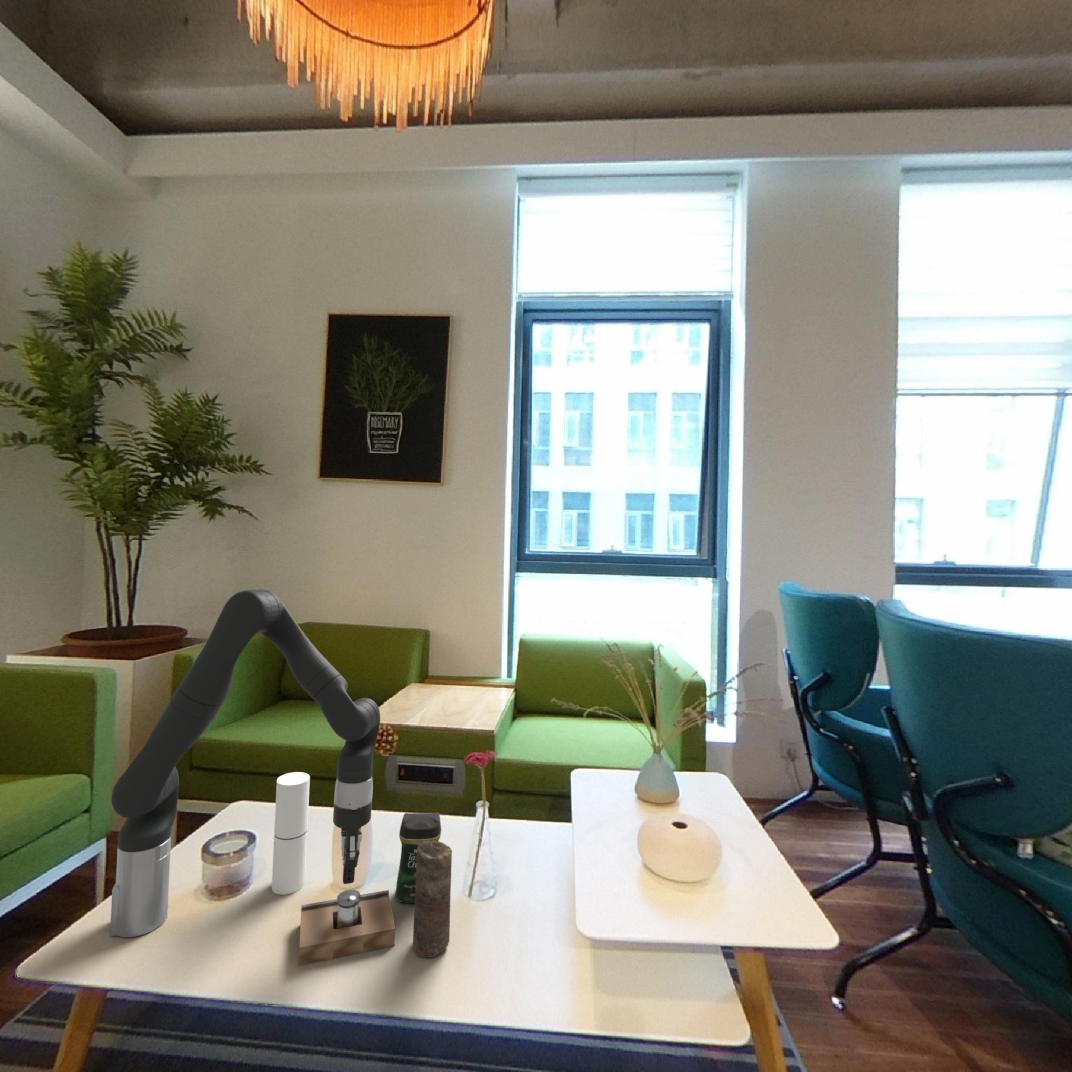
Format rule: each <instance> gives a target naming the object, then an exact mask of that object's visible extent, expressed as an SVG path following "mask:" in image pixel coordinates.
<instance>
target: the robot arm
mask: <svg viewBox="0 0 1072 1072" xmlns="http://www.w3.org/2000/svg"><path fill="white" fill-rule="evenodd" d="M257 634H261V635H262V636H264V637H265V638H267V639H268V640H270V642H271V643H273V644H274V645H275V646H276V647H277V649H278V650H279V651H280V652H281V654H282V656H283V657H284V659H285V661H286V662H287V665H288V667H289V670H290V672H291V674H292V676H293V677H294V679H295V681H297V683H298V684H299V686H300V687H301V688H302V689H303V690H304V691H305V692H306V693H307V694H308V695H309V696H310V697H311V699H313V701H314V702H316V703H317V704H318V706H319V708H320V710H321V711H322V714H323V716H324V717H325V719H326V721H327V722H328V725H329V726H330V728H331V729H332V730H333V732H334V733H335V734H336V735H337V737H339V738H341V739H342V740H345V743H344V745H343V747H342V749H341V750H340V752H339V755H338V758H337V768H336V769H337V770H336V781H335V785H334V796H333V797H334V798H333V815H332V822H333V824H334V826H336V827H337V828H338V829H340V838H341V839H340V840H341V841H340V842H341V843H340V844H341V846H340V848H341V849H340V850H341V857H342V866H343V869H342V884H343V885H349V884H353V883H354V882H355V877H356V876H355V874H356V873H355V872H356V868H357V867H358V863H359V856H360V848H361V842H362V837H363V835H362V834H363V833H362V827H364V826H367V824H369V822H370V821H371V818H372V807H373V805H372V804H373V792H374V791H373V790H374V785H373V784H374V783H373V767H374V766H373V765H374V752H375V748H376V746H377V745H376V744H377V740H378V735H379V731H380V726H381V711H380V707H379V706H378V704H377V703H376V702H375V700H373V699H371V698H369V697H362V698H358V699H356V700H354V701H353V700H352V698H351V697H350V696H349V694H348V692H347V691H348V687H349V685H348V684H349V683H348V681H347V680H346V679H345V677H344V676H343V675H342V674H341V673H340V672H339V671H338V670H337V669H336V668H335V666H333V665H332V664H331V662H329V661H328V660H327V659H326V657H325V656H324V655H323V654H322V653H321V652H320V651H319V650H318V649H317V648H316V646H315V645H314V644H313V643H312V642H311V641H310V639H309V638H308V636H307V635H306V634H305V633H304V631H303V630H302V629H301V627H300V626H299V624H298V623H297V622H296V621H295V619H294V618H293V616H292V614H291V612H290V611H289V609H288V608H287V607H286V605H285V604H284V602H283V601H282V599H281V598H280V597H279V596H278V594H277V593H274V592H273V591H270V590H267V589H248V590H241V591H238V592H236V593H235V594H233V595H232V596H230V598H229V599H228V600H226V603H225V604H224V606H223V608H222V610H221V612H220V614H219V616H218V617H217V620H216V622H215V624H214V627H213V629H212V630H211V632H210V635H209V637H208V639H207V641H206V643H205V644H204V646H203V648H202V649H201V651H200V652H199V654H198V656H197V657H196V658H195V660H194V662H193V663H192V665H191V667H190V669H189V670H188V672H187V674H186V675H185V676H184V677H183V680H181V682H180V684H178V685H179V686H178V687H177V688H176V690H175V692H174V694H173V695H172V697H171V699H170V701H169V702H168V704H167V705H166V708H165V710H164V711H163V713H162V714H161V715H160V717H159V719H158V721H157V723H156V724H155V725H154V728H153V730H152V732H151V733H150V734H149V736H148V739H147V740H146V742H145V744H144V745H143V747H142V748H141V750H140V751H139V753H138V754H137V755H136V756H135V758H134V759H133V760H132V762H131V763H130V764H129V765H128V767H127V768H126V769H125V770H124V772H123V773H122V775H121V776H120V777H119V779H118V780H117V781H116V783H115V784H114V787H113V789H112V793H111V806H112V809H113V810H114V811H115V812H116V814H117V815H118V816H119V817H123V818H126V820H125V822H124V823H123V825H122V827H121V828H120V830H119V831H118V835H117V852H116V853H117V855H116V875H115V884H114V885H113V887H112V890H111V908H110V909H111V910H110V925H109V926H110V929H109V930H110V932H109V937H114V936H118V937H120V938H134V937H139V936H143V935H146V934H149V933H151V932H152V931H154V930H156V929H157V928H159V927H160V926H161V925H162V924H164V922H165V921H166V919H167V918H168V912H169V911H168V910H169V891H170V889H169V888H170V887H169V886H170V869H171V867H170V866H171V845H172V844H171V843H172V841H171V840H172V829H173V826H174V823H175V820H176V817H177V812H178V811H177V810H178V800H179V789H180V788H179V787H180V778H179V777H180V776H179V771H178V769H177V767H176V766H177V764H178V763H179V761H180V760H181V759H182V757H183V756H184V755H185V753H187V751H188V750H190V749H191V747H192V746H193V745H194V744H195V743H196V742H197V740H198V739H199V738H200V737H201V736H202V734H203V733H205V731H206V730H208V729H207V728H208V727H209V726H210V725H211V723H212V722H213V720H214V719H216V716H217V715H218V713H219V711H220V710H221V708H222V707H223V705H224V703H225V702H226V700H227V698H228V697H229V694H230V691H231V689H232V685H233V680H234V679H233V678H234V671H235V668H236V664H237V662H238V660H239V658H240V657H241V655H242V654H243V652H244V650H245V649H246V648H247V645H248V644H249V643H250V642H251V640H252V639H253V638H254V637H255V635H257Z"/></svg>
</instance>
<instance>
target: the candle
mask: <svg viewBox="0 0 1072 1072" xmlns="http://www.w3.org/2000/svg"><path fill="white" fill-rule="evenodd" d="M452 854H453V850H452V848H451V847H450V846H449V845H447V844H446V843H444V842H442V841H434V842H427V843H422V844H420V845H419V846H418V848H417V864H416V890H415V903H414V909H413V910H414V912H413V931H412V933H413V934H412V945H413V948H414V952H415V953H416V954H417V956H418V957H421V958H433V957H436V956H437V955H438V954H440V953H442V952H443V951H445V950H446V948H447V947H448V946H449V943H450V936H451V934H450V929H451V888H452V884H451V883H452V860H453V858H452V857H453V855H452Z"/></svg>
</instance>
